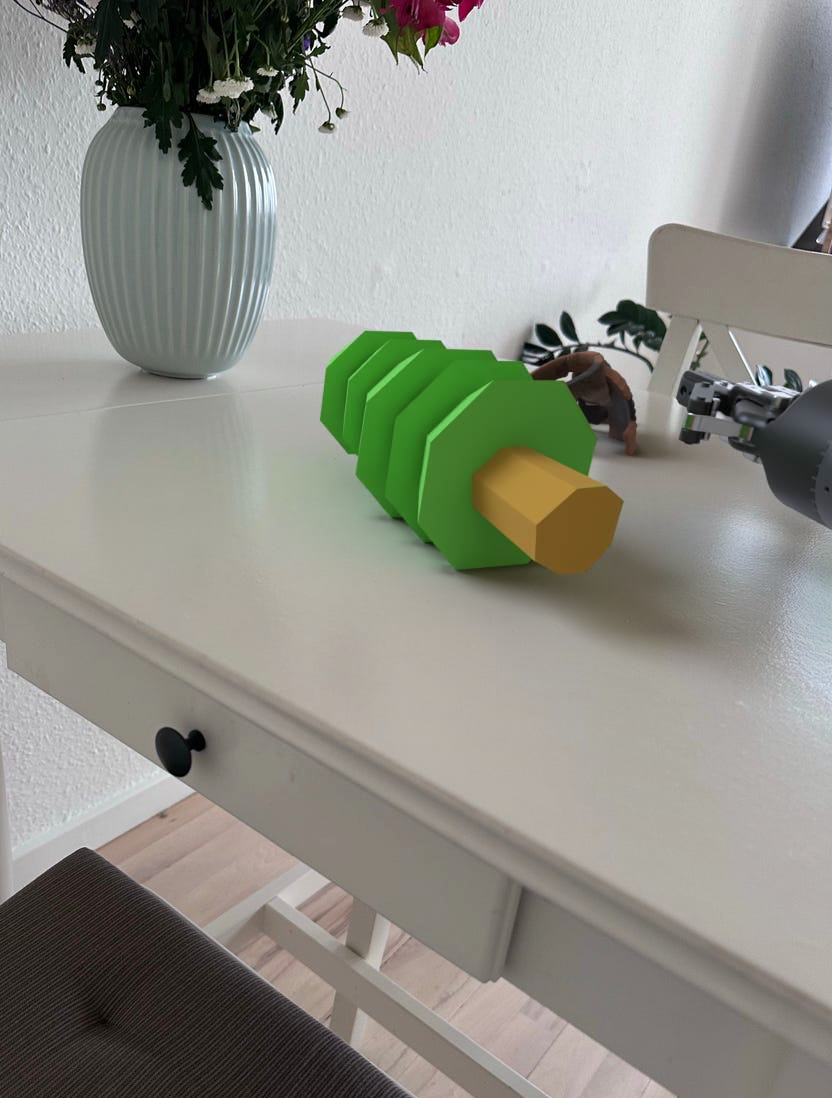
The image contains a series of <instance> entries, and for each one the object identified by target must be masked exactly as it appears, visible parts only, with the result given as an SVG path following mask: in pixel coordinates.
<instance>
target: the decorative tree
mask: <svg viewBox="0 0 832 1098" xmlns="http://www.w3.org/2000/svg"><path fill="white" fill-rule="evenodd" d="M325 367H326V368H325V373H324V381H323V390H322V398H321V407H320V415H319V422H320V423H322V425H323V427H324V428H325V429H326V430H327V431H328V432H329V433H330V434H331V436H332V437H333V438H334V439H335V440H336V442H337V443H338V444H339V445H340V446H341V448H342V449H343V451H344V452H346V454H347V455H356V456H357V460H356V461H357V462H356V468H355V476H356V477H357V479H358V480H359V481H360V482H361V483H362V484H363V486H364V487H365V488H366V489H367V490H368V492H369V493H370V494H371V495H372V497H373V498H374V499H375V500H376V501H377V502H378V504H379V505H380V506H381V507H382V509H383V510H384V511H385V512H386V513H387V514H388V515H389V517H390V518H392V519H393V518H394V519H395V518H402V519H403V520H404V521H405V522H406V523H407V525H408V526H409V527H410V528H411V529H412V531H413V532H414V533H415V534H416V536H417V537H418V538H419V539H420V541H422V543H433V545H434V546H435V547H436V549H438V551H439V552H440V553H441V554H442V556H444V558H445V559H446V560H447V562H448V563H449V564H450V565H451V567H452V568H453V569H454V570H455V571H456V570H457V571H459V570H470V569H480V568H481V569H483V568H493V567H504V566H505V567H506V566H514V565H525V564H526V565H528V564H529V563H530V562H531V560H532V561H534V562H535V563H537V564H539V566H542V567H544V568H546V569H547V570H549V571H551V572H553V573H555V574H557V575H569V574H579V573H581V574H583V573H587V572H588V571H589V570H590V569H591V568H592V567H593V565H595V563H597V561H598V560H599V559H600V558H601V557H602V556H603V555H604V554H605V553H606V552H607V551H608V549H609V548H610V547H612V543H613V539H614V537H615V533H616V530H617V525H618V523H619V519H620V516H621V512H622V510H623V505H624V502H625V501H624V500H623V498H621V497H620V496H619V495H617V494H616V493H615V491H613V490H612V489H611V488H610V487H609V486H608V485H605V484H603V483H602V482H600V481H598V480H596V479H593V478H592V477H590V476H589V474H590V471H591V466H592V462H593V457H594V453H595V449H596V446H597V445H596V444H597V440H598V437H597V434H596V433H595V431H594V430H593V428H592V426H591V423H588V421H587V419H586V417H585V416H584V414H583V412H582V410H581V409H580V407H579V405H578V401H577V402H576V400H575V398H574V397H573V395H572V393H571V391H570V390H569V388H568V386H567V385H566V383H565V382H566V381H565V380H560V379H557V380H533V378H532V377H531V375H530V373H531V372H530V371H529V369H528V368H527V367H526V365H525V363H524V362H523V360H498V358H497V357H496V356H495V354H494V352H493V351H492V350H491V349H467V348H466V349H464V348H462V349H461V348H459V349H458V348H447V347H446V346H445V344H444V343H443V341H442V340H440V339H418V338H417V337H416V335H415V334H414V332H413V331H395V330H394V331H393V330H364V331H363V332H361V333H360V334H359V335H358V336H357V337H355V338H354V339H353V340H351V342H349V343H348V344H347V345H346V346H345V347H344V348H342V349H341V350H340V351H339V352H338V353H336V354H335V355H333V356H332V357H331V358H330V360H329V361H328V364H327V365H326V366H325Z"/></svg>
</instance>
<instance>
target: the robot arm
mask: <svg viewBox="0 0 832 1098" xmlns="http://www.w3.org/2000/svg"><path fill="white" fill-rule="evenodd" d="M675 399H676V401H677V403H678V404H679V405H680V406H682V407H685V408H686V411H685V413H684V417H683V421H682V425H681V429H680V432H679V436H678V441H680V442H683V443H684V444H686V445H690V446H692V445H699V444H701V441H704V442H708V441H710V438H711V435H712V434H713V435H717V436H718V437H719V440H720V441H722V442H724V443H726V444H728V445H729V446H730V447H731V448H733V449H734V450H735V451H738V452H741V453H742V456H743V457H744V458H745V459H747V460H748V461H750V462H752V463H754V464H757V465H762V468H763V471H764V475H765V479H766V481H767V482H766V483H767V485H768V487H769V489H770V492H771V493H772V494H773V496H774V497H775V499H777V500H778V502H780V503H781V504H783V505H784V506H786V507H788V508H790V509H792V510H793V511H795V512H797V513H799V514H801V515H802V516H804V517H806V518H808V519H810V520H812V521H814V522H816V523H817V524H820V526H823V527H825V528H827V529H828V530H830V531H832V378H829V379H826V380H824V381H822V382H819V383H818V384H817V383H816V385H813V386H812V387H810V388H809V389H806V391H804V392H800V391H797V390H794V389H792V388H789V387H786V386H782V385H775V384H774V385H762V386H761V387H760V386H758V385H755V384H752V383H751V382H749V381H743V382H735V381H734V382H733V381H731V380H729V379H726V378H724V377H721V376H719V375H716V374H714V373H712V372H709V371H704V370H703V371H702V370H686V371H684V373H683V374H682V376H680V381H679V385H678V388H677V393H676V396H675Z"/></svg>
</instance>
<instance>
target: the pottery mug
mask: <svg viewBox="0 0 832 1098" xmlns="http://www.w3.org/2000/svg"><path fill="white" fill-rule="evenodd" d="M529 373H530V375H531V377H532V378H533V380H560V379H563V378H567V377H568V376H569V374H570V373H571V379H570V380H567V381H565V383H566V385H567V386H568V388H569V390H570V391H571V393H572V395H573V397H574V398H575V400H576V402H577V404H578V405H579V407H580V409H581V410H582V412H583V414H584V416H585V417H586V419H587V421H588V423H589V424H590V425H594V426H598V425H600V424H603V423H602V422H604V421H605V420H607V418H608V423H607V424H608V438H610V439H613V440H616V441H623V442H625V445H624V455H626V456H632V455H634V454H635V452H636V449H637V428H638V423H637V416H636V414H637V410H636V408H635V407H636V405H635V400H634V399H633V397H634V395H633V393H632V391H631V388H630V386H629V385H628V383H627V380H626V378H624V377H623V376H622V375H621V373H620V372H618V371H617V370H616V369H613V368H612V365H611V363H609V362H608V361H607V360H606V359H605V357H604V355H603V354H601V353H600V352H599V351H595V350H586V351H578V352H572V353H569V354H567V355H561V356H559V357H557V358H554V359H553V360H550V361H548V362H547V363H544V364H542V365H541V366H538V367H537V368H535V369H533V370H532V371H530V372H529Z"/></svg>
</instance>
